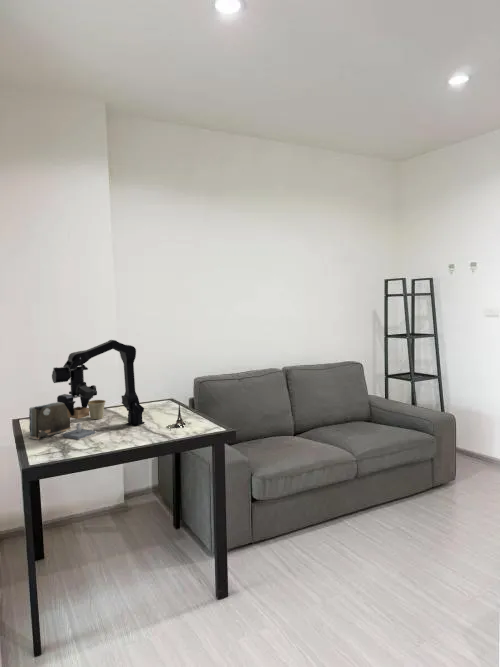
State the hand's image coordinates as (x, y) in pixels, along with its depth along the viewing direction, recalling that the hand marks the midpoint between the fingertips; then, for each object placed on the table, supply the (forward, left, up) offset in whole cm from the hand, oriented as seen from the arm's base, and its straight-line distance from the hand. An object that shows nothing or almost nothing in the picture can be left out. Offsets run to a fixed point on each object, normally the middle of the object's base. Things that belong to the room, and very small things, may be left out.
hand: (78, 413), depth 219 cm
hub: (0, 0, -10) cm, 10 cm away
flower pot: (+15, -26, -10) cm, 32 cm away
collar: (0, 0, -1) cm, 1 cm away
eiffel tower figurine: (-33, -33, -11) cm, 48 cm away
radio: (+15, +4, -10) cm, 18 cm away
